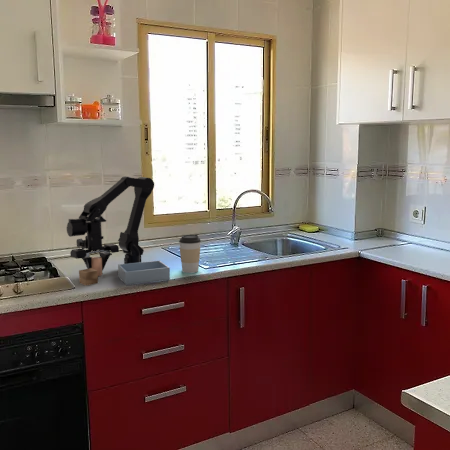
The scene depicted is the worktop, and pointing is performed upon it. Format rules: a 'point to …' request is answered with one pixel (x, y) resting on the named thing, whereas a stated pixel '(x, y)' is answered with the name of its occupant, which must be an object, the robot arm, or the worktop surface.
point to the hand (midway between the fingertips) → (96, 271)
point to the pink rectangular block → (97, 265)
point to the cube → (88, 276)
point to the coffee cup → (190, 253)
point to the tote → (143, 272)
